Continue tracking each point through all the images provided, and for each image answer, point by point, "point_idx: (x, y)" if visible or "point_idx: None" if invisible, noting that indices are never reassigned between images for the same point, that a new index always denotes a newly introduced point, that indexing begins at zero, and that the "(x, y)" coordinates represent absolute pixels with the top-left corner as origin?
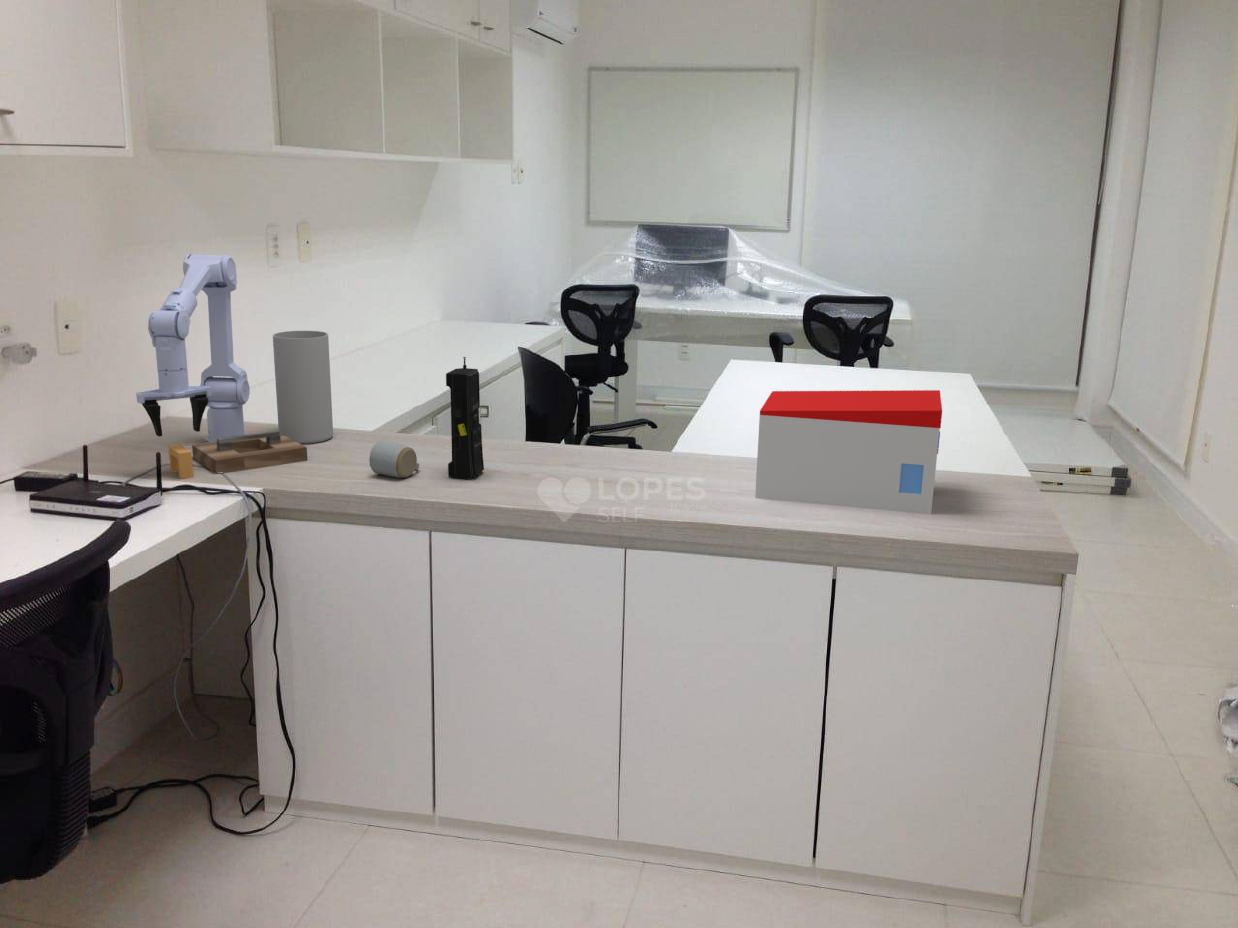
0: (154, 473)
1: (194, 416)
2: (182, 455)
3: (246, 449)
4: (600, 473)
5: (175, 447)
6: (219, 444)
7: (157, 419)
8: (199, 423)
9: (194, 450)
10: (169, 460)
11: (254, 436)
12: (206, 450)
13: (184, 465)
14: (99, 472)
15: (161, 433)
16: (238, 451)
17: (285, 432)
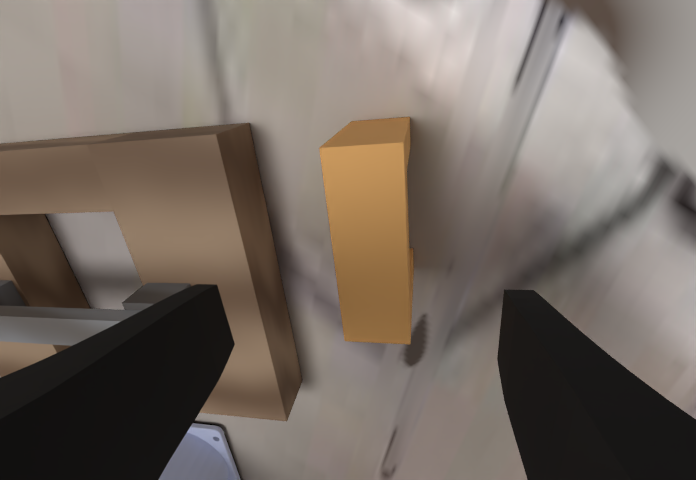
0: (481, 268)
1: (149, 418)
2: (380, 142)
3: None
4: None
5: (383, 295)
6: None
7: (644, 419)
8: (145, 313)
9: (288, 387)
10: (412, 296)
11: (22, 312)
12: (244, 324)
13: (380, 130)
14: (662, 387)
15: (517, 298)
16: None
17: None
